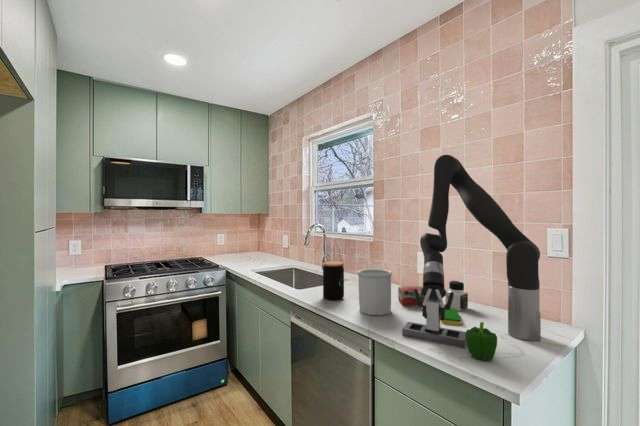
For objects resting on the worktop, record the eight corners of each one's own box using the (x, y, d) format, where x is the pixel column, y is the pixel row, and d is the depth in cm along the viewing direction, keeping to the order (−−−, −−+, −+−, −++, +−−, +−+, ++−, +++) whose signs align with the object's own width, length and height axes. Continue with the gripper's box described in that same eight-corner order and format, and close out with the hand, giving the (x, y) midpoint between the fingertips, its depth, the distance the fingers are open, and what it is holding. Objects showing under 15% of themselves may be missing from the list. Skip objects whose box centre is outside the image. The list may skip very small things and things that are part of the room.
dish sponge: (441, 324, 119) (441, 318, 119) (438, 312, 132) (438, 307, 132) (461, 326, 116) (461, 320, 116) (456, 314, 130) (456, 309, 130)
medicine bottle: (460, 311, 132) (460, 284, 132) (445, 307, 138) (444, 281, 138) (468, 308, 137) (468, 281, 137) (452, 304, 142) (452, 278, 142)
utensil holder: (351, 308, 137) (351, 269, 137) (377, 303, 144) (377, 267, 144) (371, 318, 124) (371, 276, 124) (399, 312, 131) (398, 272, 131)
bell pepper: (489, 367, 85) (489, 331, 85) (460, 355, 92) (460, 323, 92) (502, 358, 90) (502, 325, 90) (474, 348, 97) (474, 317, 97)
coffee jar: (343, 301, 148) (342, 264, 148) (321, 300, 149) (321, 264, 149) (344, 295, 158) (344, 261, 158) (324, 294, 160) (324, 260, 160)
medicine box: (429, 301, 148) (428, 285, 148) (435, 306, 140) (435, 289, 140) (398, 301, 148) (397, 285, 148) (402, 306, 140) (402, 289, 140)
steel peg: (440, 327, 106) (440, 299, 106) (438, 331, 103) (438, 302, 103) (428, 325, 108) (428, 297, 108) (426, 329, 105) (426, 300, 105)
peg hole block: (466, 339, 104) (466, 332, 104) (464, 348, 97) (464, 340, 97) (408, 327, 114) (408, 321, 114) (402, 335, 107) (402, 328, 107)
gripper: (413, 269, 115) (411, 310, 104) (454, 272, 110) (456, 316, 99) (414, 280, 120) (412, 320, 109) (453, 283, 115) (455, 326, 104)
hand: (433, 318), depth 104 cm, fingers closed on steel peg, 4 cm apart
